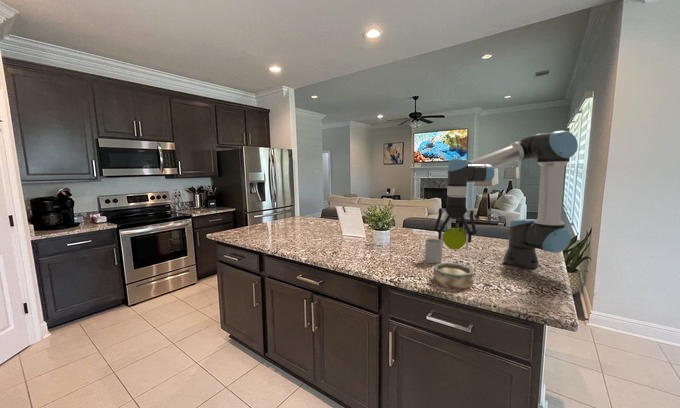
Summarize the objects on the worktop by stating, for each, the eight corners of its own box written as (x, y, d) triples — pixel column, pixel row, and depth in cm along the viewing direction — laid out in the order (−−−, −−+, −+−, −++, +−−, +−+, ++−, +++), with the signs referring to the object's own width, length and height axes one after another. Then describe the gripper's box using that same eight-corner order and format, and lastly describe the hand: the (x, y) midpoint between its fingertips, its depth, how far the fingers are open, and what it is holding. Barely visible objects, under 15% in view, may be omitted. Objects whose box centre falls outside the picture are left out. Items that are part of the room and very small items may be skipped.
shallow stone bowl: (473, 277, 128) (473, 265, 127) (472, 291, 113) (473, 278, 113) (435, 272, 135) (436, 261, 134) (431, 284, 120) (431, 272, 120)
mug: (438, 264, 146) (439, 243, 144) (422, 261, 151) (423, 241, 149) (445, 258, 155) (446, 239, 154) (430, 256, 160) (431, 237, 159)
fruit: (464, 253, 116) (465, 228, 115) (440, 249, 121) (441, 226, 120) (467, 247, 124) (468, 225, 122) (445, 245, 129) (446, 223, 127)
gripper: (485, 196, 118) (482, 249, 121) (430, 194, 128) (428, 243, 130) (486, 198, 112) (482, 253, 114) (428, 196, 121) (426, 247, 124)
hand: (454, 248), depth 122 cm, fingers closed on fruit, 9 cm apart
